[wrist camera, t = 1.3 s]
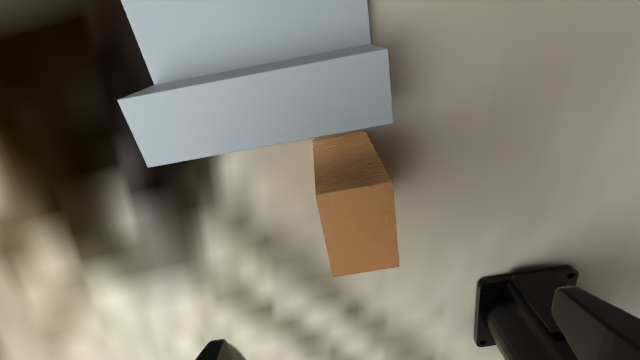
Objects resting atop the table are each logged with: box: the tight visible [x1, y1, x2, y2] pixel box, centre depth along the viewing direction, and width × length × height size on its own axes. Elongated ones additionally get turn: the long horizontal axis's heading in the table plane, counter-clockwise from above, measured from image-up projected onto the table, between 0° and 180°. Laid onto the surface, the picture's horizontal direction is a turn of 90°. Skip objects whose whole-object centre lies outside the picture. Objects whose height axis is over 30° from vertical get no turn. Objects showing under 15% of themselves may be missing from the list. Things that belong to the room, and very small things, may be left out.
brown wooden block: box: [313, 131, 399, 277], centre depth 15 cm, size 4×3×6 cm
